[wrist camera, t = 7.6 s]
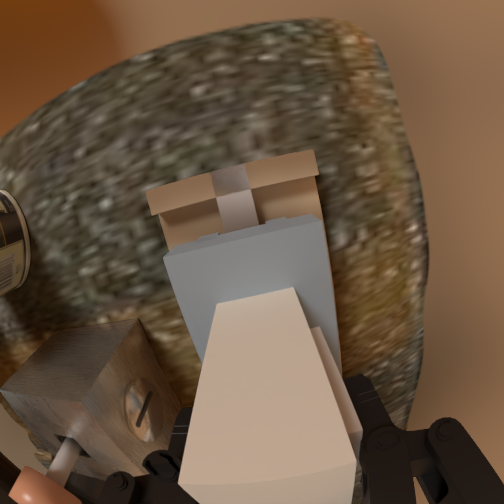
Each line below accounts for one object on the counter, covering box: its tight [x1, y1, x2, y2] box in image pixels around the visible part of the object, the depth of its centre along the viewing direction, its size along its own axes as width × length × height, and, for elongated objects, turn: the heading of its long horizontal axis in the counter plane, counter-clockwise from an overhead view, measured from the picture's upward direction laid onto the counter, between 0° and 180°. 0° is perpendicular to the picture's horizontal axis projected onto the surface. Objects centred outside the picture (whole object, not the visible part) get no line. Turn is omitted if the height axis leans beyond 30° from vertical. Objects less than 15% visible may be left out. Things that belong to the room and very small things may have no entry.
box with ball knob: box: [0, 318, 181, 480], centre depth 17 cm, size 10×11×10 cm
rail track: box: [146, 149, 342, 378], centre depth 21 cm, size 36×10×3 cm, turn 13°
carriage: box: [163, 214, 357, 504], centre depth 12 cm, size 12×8×13 cm, turn 13°
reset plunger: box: [9, 437, 82, 504], centre depth 9 cm, size 4×4×8 cm
